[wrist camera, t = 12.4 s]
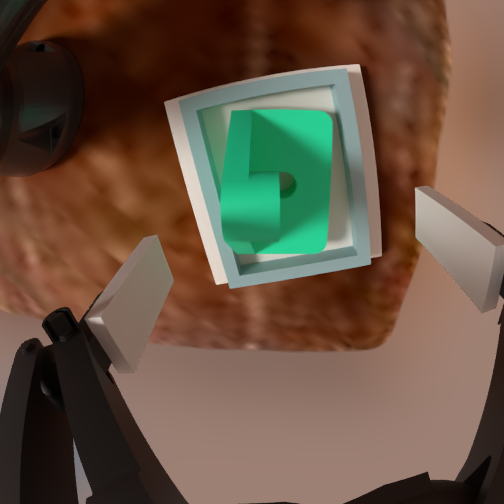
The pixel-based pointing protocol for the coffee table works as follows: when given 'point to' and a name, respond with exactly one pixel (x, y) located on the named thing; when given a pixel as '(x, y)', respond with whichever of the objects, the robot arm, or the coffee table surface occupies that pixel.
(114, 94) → the coffee table surface
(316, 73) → the dock
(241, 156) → the camera mount
